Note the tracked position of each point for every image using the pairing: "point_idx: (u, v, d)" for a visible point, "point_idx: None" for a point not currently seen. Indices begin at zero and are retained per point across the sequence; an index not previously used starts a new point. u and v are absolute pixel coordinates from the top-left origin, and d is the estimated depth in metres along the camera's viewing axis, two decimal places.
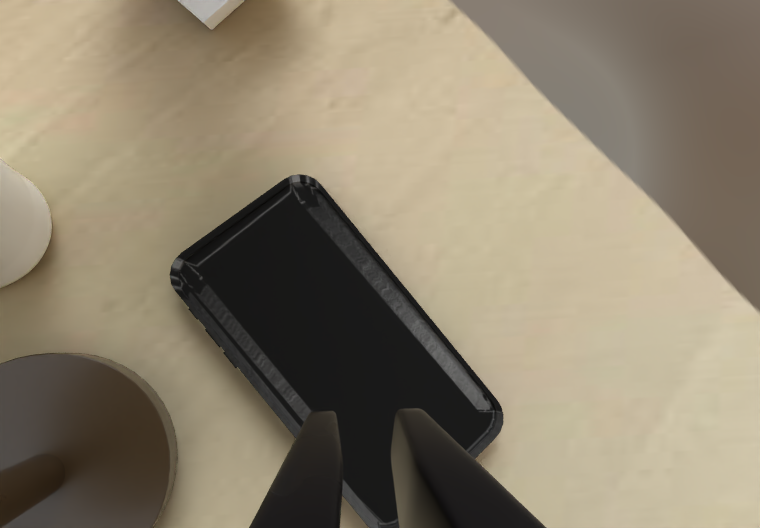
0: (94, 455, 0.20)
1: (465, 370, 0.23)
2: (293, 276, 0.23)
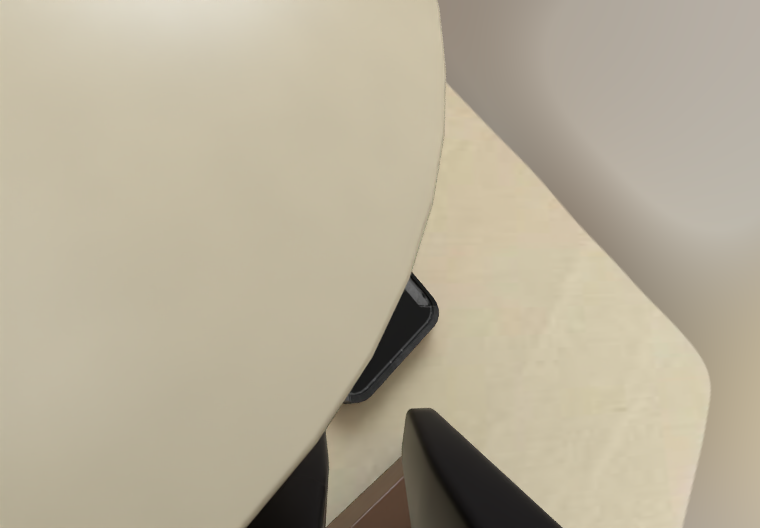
0: None
1: None
2: None
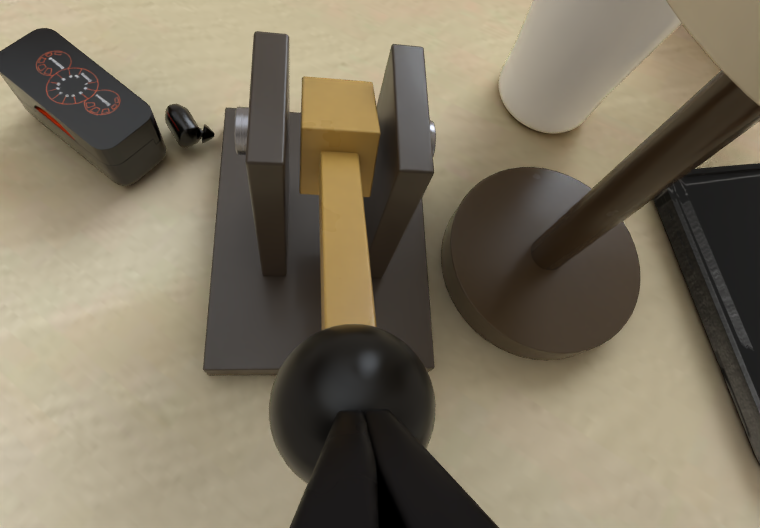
0: (586, 262, 0.23)
1: None
2: (755, 230, 0.26)
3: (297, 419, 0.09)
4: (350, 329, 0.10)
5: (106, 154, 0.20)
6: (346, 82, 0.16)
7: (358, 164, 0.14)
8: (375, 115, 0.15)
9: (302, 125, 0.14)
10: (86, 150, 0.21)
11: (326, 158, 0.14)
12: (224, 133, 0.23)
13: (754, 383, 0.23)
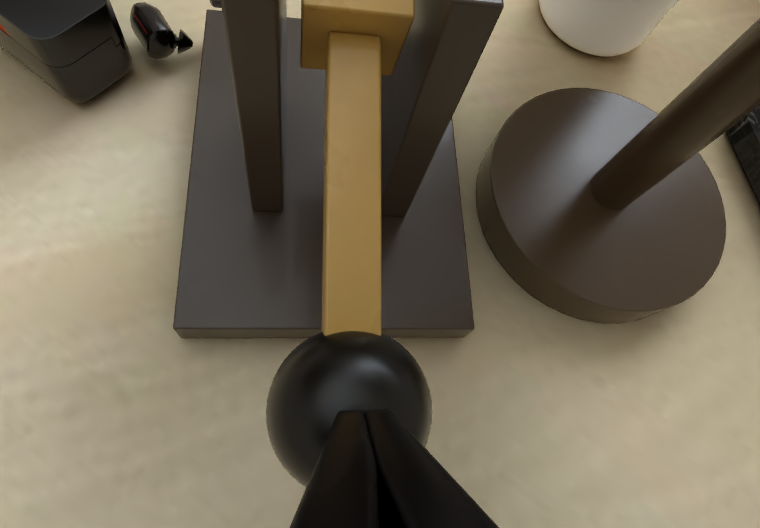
0: (659, 201, 0.19)
1: None
2: None
3: (293, 459, 0.09)
4: (351, 366, 0.09)
5: (46, 48, 0.15)
6: None
7: (379, 59, 0.11)
8: None
9: (303, 0, 0.10)
10: (23, 48, 0.16)
11: (336, 47, 0.10)
12: (205, 39, 0.18)
13: None
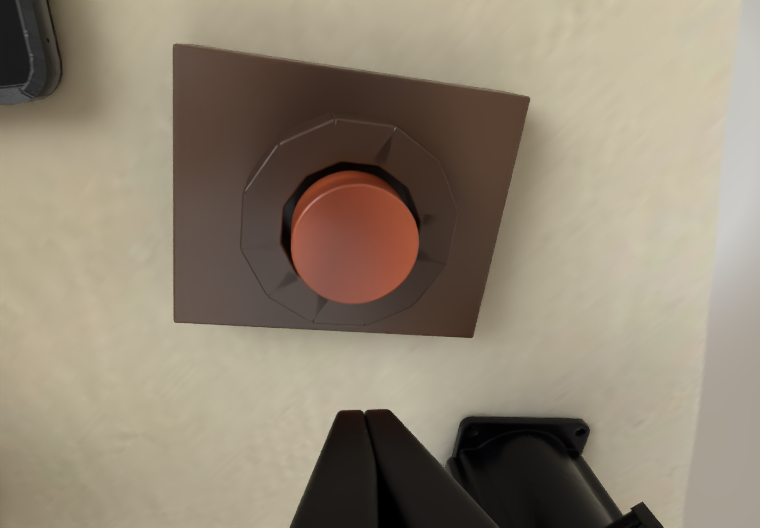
0: None
1: None
2: None
3: None
4: None
5: None
6: None
7: None
8: None
9: None
10: None
11: None
12: None
13: None
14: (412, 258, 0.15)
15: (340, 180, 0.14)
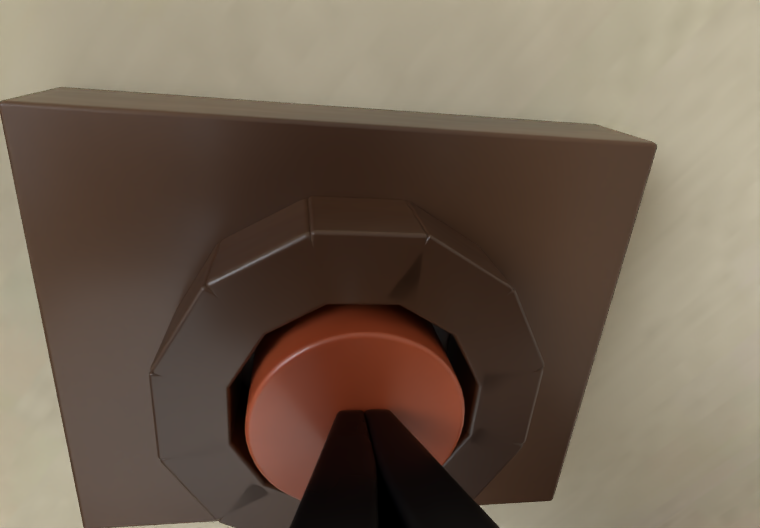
0: None
1: None
2: None
3: None
4: None
5: None
6: None
7: None
8: None
9: None
10: None
11: None
12: None
13: None
14: (454, 435, 0.09)
15: (324, 318, 0.08)
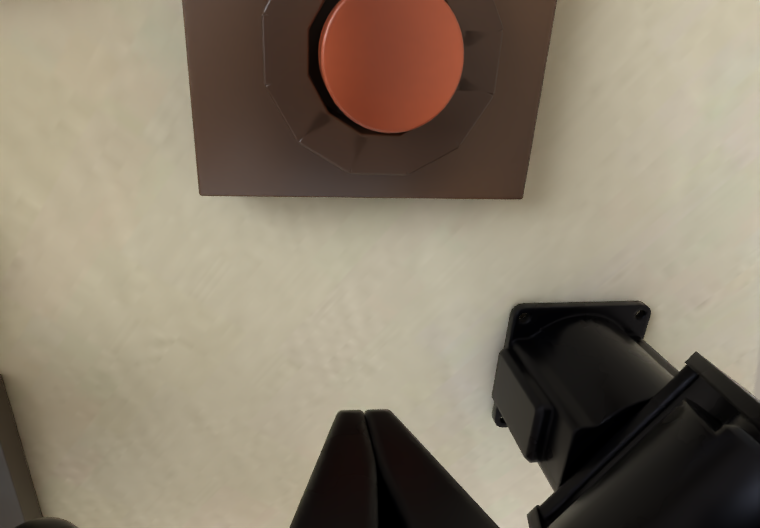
0: None
1: None
2: None
3: None
4: None
5: None
6: None
7: None
8: None
9: None
10: None
11: None
12: None
13: None
14: (457, 70, 0.13)
15: None
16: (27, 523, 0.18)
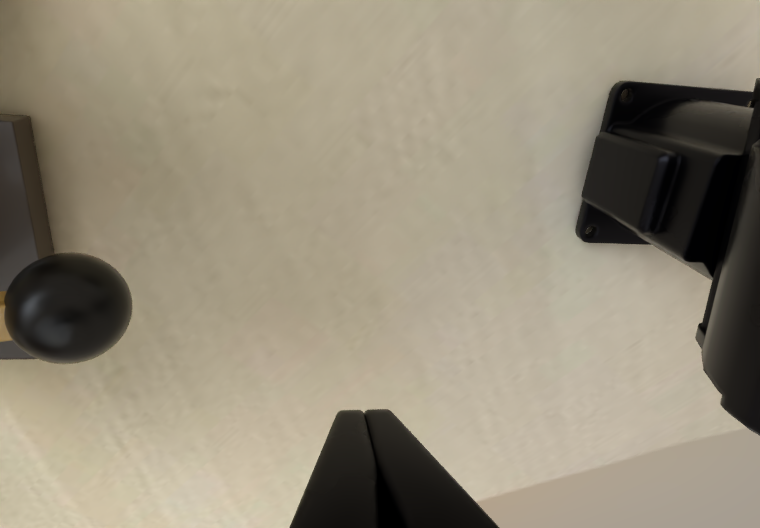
0: None
1: None
2: None
3: (102, 352, 0.15)
4: (29, 339, 0.14)
5: None
6: None
7: None
8: None
9: None
10: None
11: None
12: None
13: None
14: None
15: None
16: None
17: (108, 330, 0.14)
